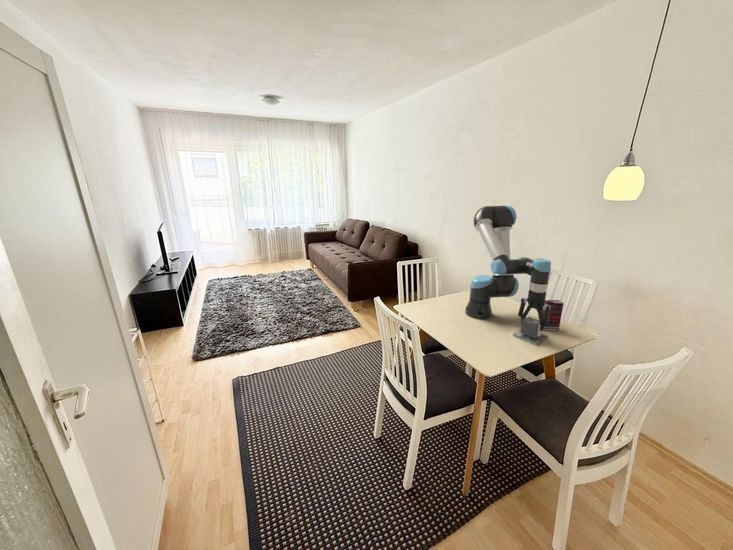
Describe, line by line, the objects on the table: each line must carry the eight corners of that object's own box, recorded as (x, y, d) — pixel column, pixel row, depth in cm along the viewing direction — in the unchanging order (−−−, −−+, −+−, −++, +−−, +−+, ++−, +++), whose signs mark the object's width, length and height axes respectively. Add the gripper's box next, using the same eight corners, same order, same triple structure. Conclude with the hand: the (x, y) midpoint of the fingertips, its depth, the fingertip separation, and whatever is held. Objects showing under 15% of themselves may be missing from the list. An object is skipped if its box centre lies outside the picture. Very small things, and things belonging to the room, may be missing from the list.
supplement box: (554, 326, 162) (559, 299, 157) (558, 330, 157) (564, 303, 153) (537, 326, 163) (542, 299, 158) (541, 330, 158) (546, 302, 154)
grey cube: (527, 328, 155) (529, 316, 153) (541, 334, 150) (543, 321, 148) (520, 332, 151) (522, 319, 149) (534, 338, 146) (536, 324, 144)
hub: (512, 335, 153) (513, 325, 151) (524, 329, 160) (525, 319, 158) (536, 345, 144) (538, 334, 142) (547, 338, 150) (549, 327, 148)
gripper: (513, 286, 150) (508, 327, 156) (556, 298, 134) (548, 343, 141) (521, 283, 154) (515, 323, 161) (563, 294, 138) (555, 338, 145)
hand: (530, 332), depth 151 cm, fingers closed on grey cube, 7 cm apart
